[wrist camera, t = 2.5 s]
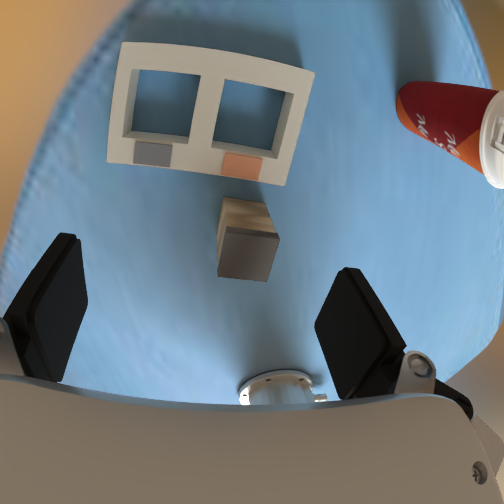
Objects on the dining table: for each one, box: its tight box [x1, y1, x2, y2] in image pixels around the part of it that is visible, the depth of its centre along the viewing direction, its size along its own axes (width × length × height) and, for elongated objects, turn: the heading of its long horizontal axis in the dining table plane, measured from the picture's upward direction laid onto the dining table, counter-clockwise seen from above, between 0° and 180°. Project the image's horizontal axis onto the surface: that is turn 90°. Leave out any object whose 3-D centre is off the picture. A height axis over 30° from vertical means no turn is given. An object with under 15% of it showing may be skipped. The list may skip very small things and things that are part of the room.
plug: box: [217, 197, 280, 282], centre depth 27 cm, size 4×4×7 cm
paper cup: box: [396, 81, 504, 189], centre depth 19 cm, size 8×8×14 cm
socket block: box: [107, 42, 315, 187], centre depth 22 cm, size 15×10×3 cm, turn 77°
